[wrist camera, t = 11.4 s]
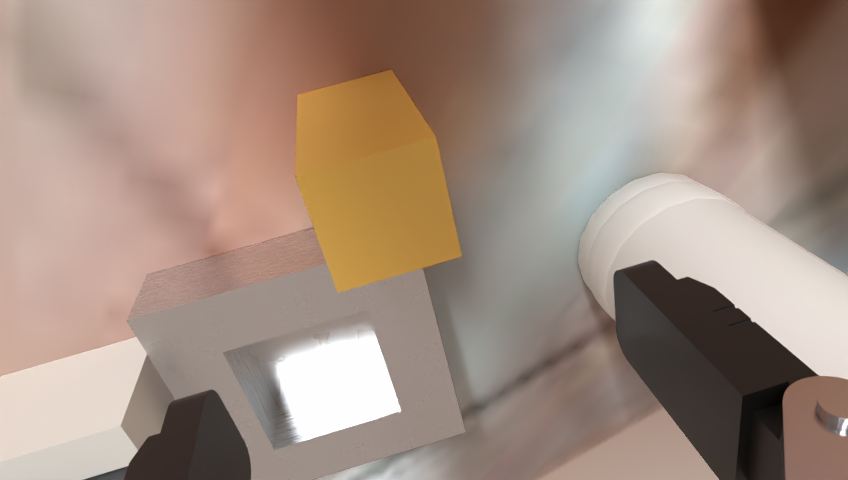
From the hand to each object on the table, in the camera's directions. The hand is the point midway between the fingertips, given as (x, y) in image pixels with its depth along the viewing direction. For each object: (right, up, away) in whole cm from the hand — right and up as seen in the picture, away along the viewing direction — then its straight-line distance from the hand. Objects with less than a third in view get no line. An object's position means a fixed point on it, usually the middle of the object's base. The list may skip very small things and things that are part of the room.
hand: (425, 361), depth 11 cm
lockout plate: (-6, -3, +18) cm, 19 cm away
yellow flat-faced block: (-3, +7, +13) cm, 15 cm away
